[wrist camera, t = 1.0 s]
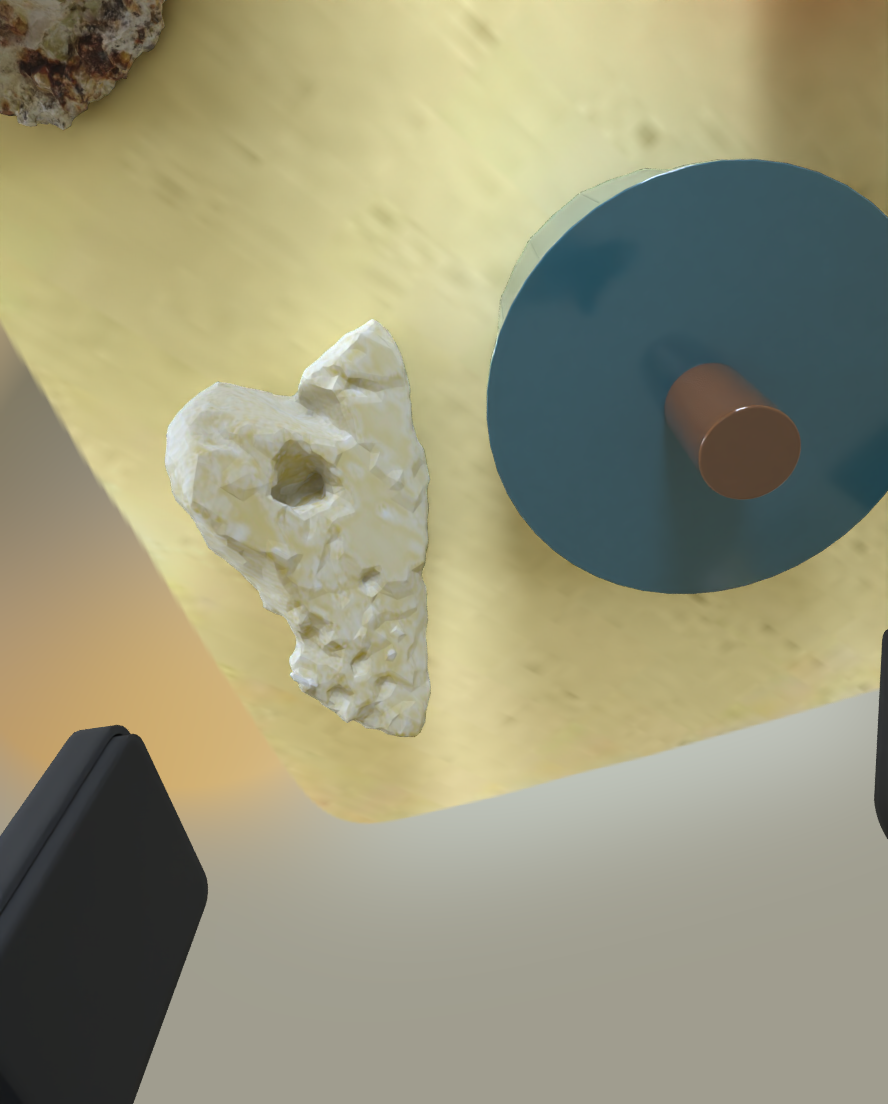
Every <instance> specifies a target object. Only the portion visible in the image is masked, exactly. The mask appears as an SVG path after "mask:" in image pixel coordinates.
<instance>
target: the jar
mask: <svg viewBox="0 0 888 1104" xmlns="http://www.w3.org/2000/svg"><path fill="white" fill-rule="evenodd" d="M666 170H669V169H651V168H645V169H640V170H637V171H635V172H632V173H629V174H627V175H624V176H620V177H617V178H614V179H611V180H608V181H606V182H604V183H601V184H599V185H597V186H595V187H592V188H590V189H587V190H585V191H582V192H580V194H577V195H576V196H575V197H574V198H573V199H572V200H571V201H569V202H568V203H567V204H566V205H565V206H563V207H562V208H561V209H560V210H558V211H557V212H556V213H555V214H554V215H552V216H551V218H550V219H549V220H548V221H547V222H546V223H545V224H544V225H543V226H542V227H541V228H540V229H539V230H538V231H537V232H536V233H535V234H534V235H533V236H532V237H531V238H530V240H529V241H528V242H527V244H526V246H525V248H524V251H523V252H522V254H521V256H520V258H519V259H518V261H517V263H516V265H515V266H514V269H513V271H512V273H511V276H510V278H509V281H508V283H507V285H506V288H505V290H504V292H503V294H502V296H501V299H500V308H499V321H498V331H499V328H500V326H501V323H502V321H503V319H504V316H505V314H506V312H507V309H508V307H509V304H510V302H511V300H512V299H513V297H514V295H515V294H516V292H517V290H518V288H519V287H520V285H521V283H522V281H523V280H524V278H525V276H526V275H527V273H528V272H529V271H530V269H531V268H532V267H533V265H534V264H535V263H536V262H537V260H538V259H539V258H540V256H541V255H542V254H543V252H544V251H545V250H546V249H547V248H548V247H549V246H550V245H551V244H552V243H553V242H554V240H555V239H556V238H557V237H558V236H559V235H560V234H561V233H562V232H563V231H564V230H565V229H566V228H567V227H568V226H569V225H571V224H572V223H573V222H574V221H576V220H577V219H578V218H579V217H581V216H582V215H583V214H584V213H586V212H587V211H588V210H589V209H590V208H592V207H593V206H594V205H596V204H598V203H599V202H601V201H603V200H604V199H606V198H607V197H609V196H611V195H612V194H614V193H616V192H617V191H619V190H620V189H622V188H624V187H626V186H629V185H631V184H633V183H635V182H637V181H640V180H642V179H644V178H646V177H648V176H651V175H653V174H656V173H660V172H663V171H666Z"/></svg>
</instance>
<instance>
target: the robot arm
mask: <svg viewBox="0 0 888 1104" xmlns="http://www.w3.org/2000/svg"><path fill="white" fill-rule="evenodd" d="M876 755H877V756H876V775H875V794H874V801H875V809H876V813H877V817H878V820H879V823H880V826H881V828H882V830H883V832H884V834H885V835H886V837H887V839H888V630H886V631H885V632H884V634H883V639H882V655H881V675H880V695H879V714H878V735H877V754H876ZM207 895H208V884H207V878H206V875H205V872H204V870H203V868H202V866H201V864H200V862H199V860H198V858H197V856H196V853H195V851H194V849H193V847H192V845H191V842H190V841H189V838H188V836H187V834H186V832H185V830H184V828H183V826H182V824H181V821H180V819H179V817H178V815H177V813H176V810H175V808H174V807H173V804H172V802H171V800H170V798H169V796H168V793H167V792H166V790H165V787H164V785H163V783H162V781H161V779H160V776H159V774H158V772H157V770H156V768H155V766H154V764H153V761H152V760H151V757H150V755H149V753H148V751H147V749H146V747H145V744H144V742H143V741H142V739H141V738H140V737H139V736H138V735H136V734H130V733H129V731H128V730H127V729H126V728H125V727H123V726H120V725H114V726H107V727H99V728H92V729H85V730H79V731H77V732H74V733H73V734H72V736H71V737H69V739H68V740H67V741H66V743H65V744H64V746H63V747H62V749H61V750H60V752H59V753H58V754H57V756H56V757H55V759H54V760H53V761H52V763H51V764H50V766H49V767H48V769H47V770H46V771H45V773H44V775H43V776H42V777H41V779H40V780H39V781H38V783H37V784H36V786H35V787H34V789H33V790H32V792H31V793H30V794H29V796H28V797H27V799H26V800H25V802H24V803H23V804H22V806H21V807H20V809H19V810H18V812H17V813H16V814H15V816H14V817H13V819H12V820H11V821H10V823H9V825H8V826H7V827H6V829H5V830H4V832H3V833H2V834H1V836H0V1104H133V1103H134V1100H135V1097H136V1094H137V1092H138V1089H139V1086H140V1083H141V1081H142V1078H143V1075H144V1072H145V1070H146V1067H147V1064H148V1061H149V1058H150V1056H151V1053H152V1051H153V1048H154V1045H155V1042H156V1039H157V1037H158V1034H159V1031H160V1029H161V1026H162V1023H163V1020H164V1018H165V1015H166V1012H167V1010H168V1006H169V1004H170V1001H171V998H172V996H173V993H174V990H175V988H176V985H177V982H178V979H179V977H180V974H181V971H182V968H183V966H184V963H185V960H186V957H187V955H188V952H189V949H190V947H191V944H192V941H193V938H194V936H195V933H196V930H197V927H198V924H199V922H200V919H201V916H202V914H203V911H204V908H205V905H206V901H207Z"/></svg>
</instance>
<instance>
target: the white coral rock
mask: <svg viewBox="0 0 888 1104" xmlns="http://www.w3.org/2000/svg"><path fill="white" fill-rule="evenodd" d="M166 438H167V447H166V455H165V467H166V470H167V473H168V475H169V478H170V481H171V487H172V492H173V495H174V497H175V500H176V501H177V502H178V503H179V504H180V505H181V506H182V507H183V509H184V510H185V511H186V512H187V513H188V514H189V515H190V516H191V517H192V519H193V520H194V521H195V523H196V526H197V528H198V529H199V530H200V532H201V534H202V536H203V538H204V540H205V542H206V544H207V546H208V548H209V549H211V550H212V551H214V553H215V554H217V555H218V556H220V557H221V558H223V559H224V560H226V561H227V562H228V563H229V564H230V565H232V566H233V567H234V568H235V569H236V570H238V571H239V572H240V573H241V574H242V575H243V576H244V577H245V578H246V579H247V580H248V581H249V582H250V583H251V584H252V585H253V586H254V587H255V588H256V589H257V590H258V591H259V594H260V597H261V600H262V601H263V607H264V608H266V609H267V610H269V611H271V612H273V613H276V614H279V615H281V616H283V617H284V618H285V619H286V620H287V621H288V623H289V625H290V627H291V629H292V631H293V633H294V634H295V636H296V647H295V651H294V652H293V654H292V655H291V656H290V661H289V663H290V666H291V669H292V671H293V673H292V672H291V673H290V676H291V677H292V679H293V680H294V681H296V682H298V685H299V687H300V689H301V691H302V692H304V693H306V694H308V695H309V696H311V697H313V698H315V699H317V700H319V701H320V702H321V704H322V705H324V706H325V707H327V708H329V709H330V710H332V711H333V712H335V713H336V714H337V715H338V716H339V717H340V718H341V719H342V720H343V721H345V722H346V723H348V722H350V721H352V720H354V721H357V722H359V723H360V724H362V725H363V726H364V727H365V728H370V729H377V730H381V731H383V732H385V733H387V734H389V735H395V736H399V737H415V736H417V735H418V734H419V733H420V732H421V730H422V728H423V726H424V723H425V719H426V708H427V705H428V701H429V697H430V694H431V685H430V679H429V674H428V653H427V642H426V629H427V623H428V614H427V591H426V585H425V583H424V581H423V578H422V571H423V568H424V566H425V561H426V551H427V547H428V524H427V519H428V510H429V504H428V498H427V486H428V484H429V481H430V477H429V473H428V468H427V463H426V457H425V452H424V449H423V447H422V446H421V444H420V442H419V441H418V439H417V436H416V433H415V430H414V426H413V421H412V410H411V400H410V384H409V381H408V377H407V373H406V370H405V366H404V363H403V359H402V356H401V353H400V351H399V349H398V346H397V344H396V342H395V341H394V339H393V337H392V336H391V334H390V333H389V331H388V330H387V329H386V328H385V327H383V326H382V325H381V324H380V323H379V322H378V321H376V320H374V319H372V320H369V321H368V322H367V323H366V324H364V325H363V326H361V327H359V328H357V329H355V330H353V331H351V332H348V333H346V334H345V335H344V336H343V337H342V338H340V339H339V341H338V342H337V343H336V344H335V345H334V346H333V347H331V348H330V349H328V350H327V351H326V352H325V353H324V354H323V355H322V356H321V357H320V358H319V359H318V360H316V361H315V362H314V363H313V364H311V365H310V366H309V367H308V368H306V369H305V371H304V373H303V375H302V378H301V381H300V384H299V387H298V391H297V393H296V394H295V395H293V396H291V397H289V396H280V395H274V394H272V393H269V392H266V391H261V390H257V389H252V388H245V387H242V386H238V385H234V384H229V383H224V382H216V383H214V384H213V385H212V386H210V387H209V388H207V389H205V390H203V391H202V392H200V393H198V394H197V395H196V396H195V397H194V398H192V399H191V400H190V401H189V402H188V403H187V404H186V405H185V406H184V407H183V408H182V409H181V410H180V411H179V412H178V413H177V415H176V416H175V418H174V419H173V420H172V422H171V423H170V424H169V426H168V431H167V435H166Z"/></svg>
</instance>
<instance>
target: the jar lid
mask: <svg viewBox="0 0 888 1104" xmlns="http://www.w3.org/2000/svg"><path fill="white" fill-rule="evenodd" d="M487 425H488V432H489V440H490V446H491V450H492V454H493V457H494V461H495V464H496V468H497V471H498V474H499V476H500V478H501V481H502V483H503V485H504V487H505V490H506V492H507V494H508V496H509V497H510V499H511V501H512V502H513V504H514V506H515V507H516V509H517V511H518V512H519V514H520V515H521V517H522V518H523V519H524V520H525V521H526V523H527V524H528V525H529V526H530V528H531V529H532V530H533V531H534V532H535V534H536V535H537V536H538V537H540V538H541V539H542V540H543V541H544V542H545V543H546V544H547V545H548V546H549V547H550V548H551V549H552V550H554V551H555V552H556V553H558V554H559V555H561V556H562V557H563V558H565V559H566V560H568V561H569V562H571V563H572V564H573V565H575V566H577V567H579V568H581V569H583V570H585V571H587V572H589V573H590V574H592V575H594V576H596V577H599V578H602V579H604V580H607V581H610V582H612V583H615V584H618V585H621V586H626V587H630V588H634V589H638V590H642V591H650V592H658V593H666V594H697V593H707V592H716V591H723V590H728V589H732V588H737V587H741V586H746V585H749V584H752V583H755V582H758V581H761V580H764V579H767V578H770V577H773V576H775V575H778V574H780V573H782V572H784V571H787V570H789V569H791V568H793V567H795V566H798V565H799V564H801V563H803V562H804V561H806V560H808V559H810V558H811V557H813V556H815V555H817V554H818V553H820V552H822V551H823V550H824V549H826V548H827V547H829V546H830V545H831V544H833V543H834V542H835V541H837V540H838V539H840V538H841V537H842V536H844V535H845V534H846V533H847V532H848V531H849V530H851V529H852V528H853V527H854V526H855V525H856V524H857V523H858V522H859V521H861V520H862V519H863V518H864V517H865V516H866V515H867V514H868V513H869V512H870V511H871V509H872V508H873V507H874V506H875V505H876V504H877V503H878V502H879V500H880V499H881V498H882V497H883V496H884V495H885V494H886V492H887V491H888V217H887V216H886V215H885V214H884V213H883V212H882V211H881V210H880V209H879V208H878V207H877V206H876V205H874V204H873V203H872V202H871V201H869V200H868V199H867V198H865V197H864V196H862V195H861V194H859V193H858V192H856V191H855V190H853V189H852V188H850V187H849V186H848V185H846V184H843V183H841V182H839V181H837V180H835V179H833V178H831V177H828V176H826V175H824V174H822V173H820V172H817V171H813V170H810V169H806V168H803V167H799V166H796V165H792V164H789V163H782V162H774V161H766V160H758V159H719V160H711V161H705V162H699V163H693V164H687V165H683V166H679V167H676V168H673V169H669V170H666V171H663V172H660V173H656V174H653V175H651V176H648V177H646V178H644V179H642V180H640V181H637V182H635V183H633V184H631V185H629V186H626V187H624V188H622V189H620V190H619V191H617V192H616V193H614V194H612V195H611V196H609V197H607V198H606V199H604V200H603V201H601V202H599V203H598V204H596V205H594V206H593V207H592V208H590V209H589V210H588V211H587V212H586V213H584V214H583V215H582V216H581V217H579V218H578V219H577V220H576V221H574V222H573V223H572V224H571V225H569V226H568V227H567V228H566V229H565V230H564V231H563V232H562V233H561V234H560V235H559V236H558V237H557V238H556V239H555V240H554V242H553V243H552V244H551V245H550V246H549V247H548V248H547V249H546V250H545V251H544V252H543V254H542V255H541V256H540V258H539V259H538V260H537V262H536V263H535V264H534V265H533V267H532V268H531V269H530V271H529V272H528V273H527V275H526V276H525V278H524V280H523V281H522V283H521V285H520V287H519V288H518V290H517V292H516V294H515V295H514V297H513V299H512V300H511V302H510V304H509V307H508V309H507V312H506V314H505V316H504V319H503V321H502V323H501V326H500V328H499V331H498V334H497V338H496V341H495V345H494V349H493V352H492V356H491V360H490V368H489V375H488V382H487Z"/></svg>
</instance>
